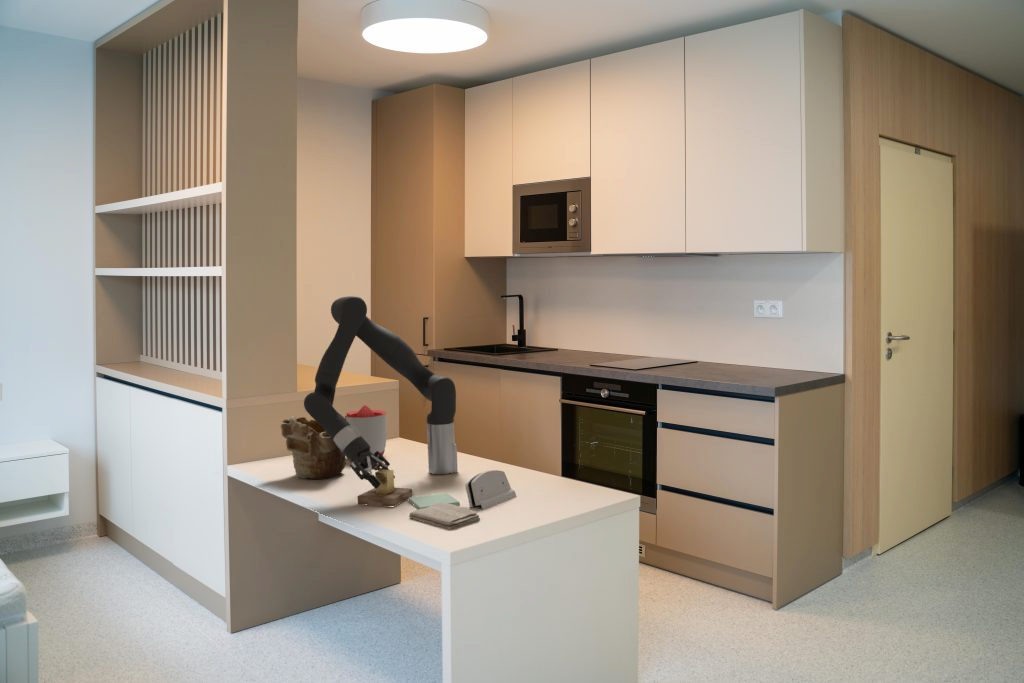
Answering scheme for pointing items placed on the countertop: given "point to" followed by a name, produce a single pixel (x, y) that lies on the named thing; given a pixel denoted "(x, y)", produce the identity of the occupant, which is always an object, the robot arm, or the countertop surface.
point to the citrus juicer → (370, 427)
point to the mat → (432, 500)
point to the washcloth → (445, 515)
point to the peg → (385, 482)
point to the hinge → (489, 489)
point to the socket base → (385, 497)
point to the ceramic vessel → (312, 449)
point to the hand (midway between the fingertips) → (385, 483)
